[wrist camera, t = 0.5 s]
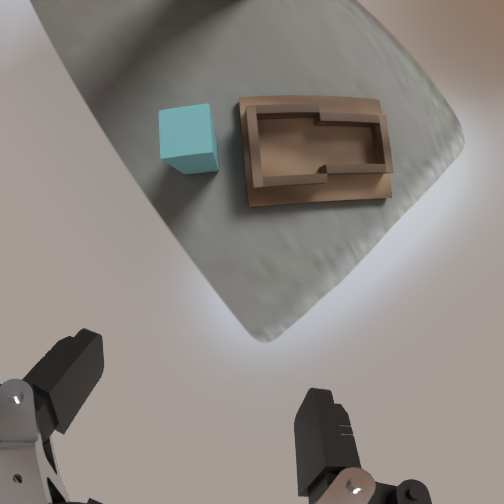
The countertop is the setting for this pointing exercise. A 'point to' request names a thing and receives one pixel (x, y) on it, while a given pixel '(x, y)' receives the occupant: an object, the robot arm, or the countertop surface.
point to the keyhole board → (314, 149)
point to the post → (188, 139)
